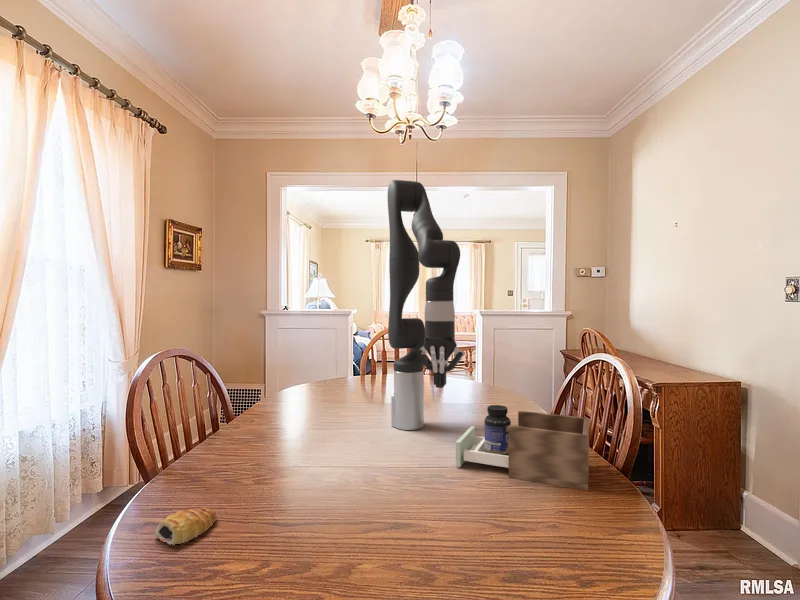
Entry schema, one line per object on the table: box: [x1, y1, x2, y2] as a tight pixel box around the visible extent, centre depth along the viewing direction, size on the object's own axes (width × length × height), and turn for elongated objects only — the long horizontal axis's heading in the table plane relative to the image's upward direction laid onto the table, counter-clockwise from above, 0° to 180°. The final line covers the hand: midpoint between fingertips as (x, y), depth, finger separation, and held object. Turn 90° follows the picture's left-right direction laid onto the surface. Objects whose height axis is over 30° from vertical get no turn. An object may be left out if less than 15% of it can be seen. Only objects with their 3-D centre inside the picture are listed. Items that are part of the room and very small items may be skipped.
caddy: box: [508, 410, 590, 491], centre depth 96 cm, size 16×14×11 cm
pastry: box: [154, 506, 218, 546], centre depth 73 cm, size 9×7×4 cm
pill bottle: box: [483, 404, 511, 456], centre depth 101 cm, size 6×6×11 cm
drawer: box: [455, 425, 509, 469], centre depth 101 cm, size 16×14×6 cm
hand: (440, 387), depth 107 cm, fingers closed
